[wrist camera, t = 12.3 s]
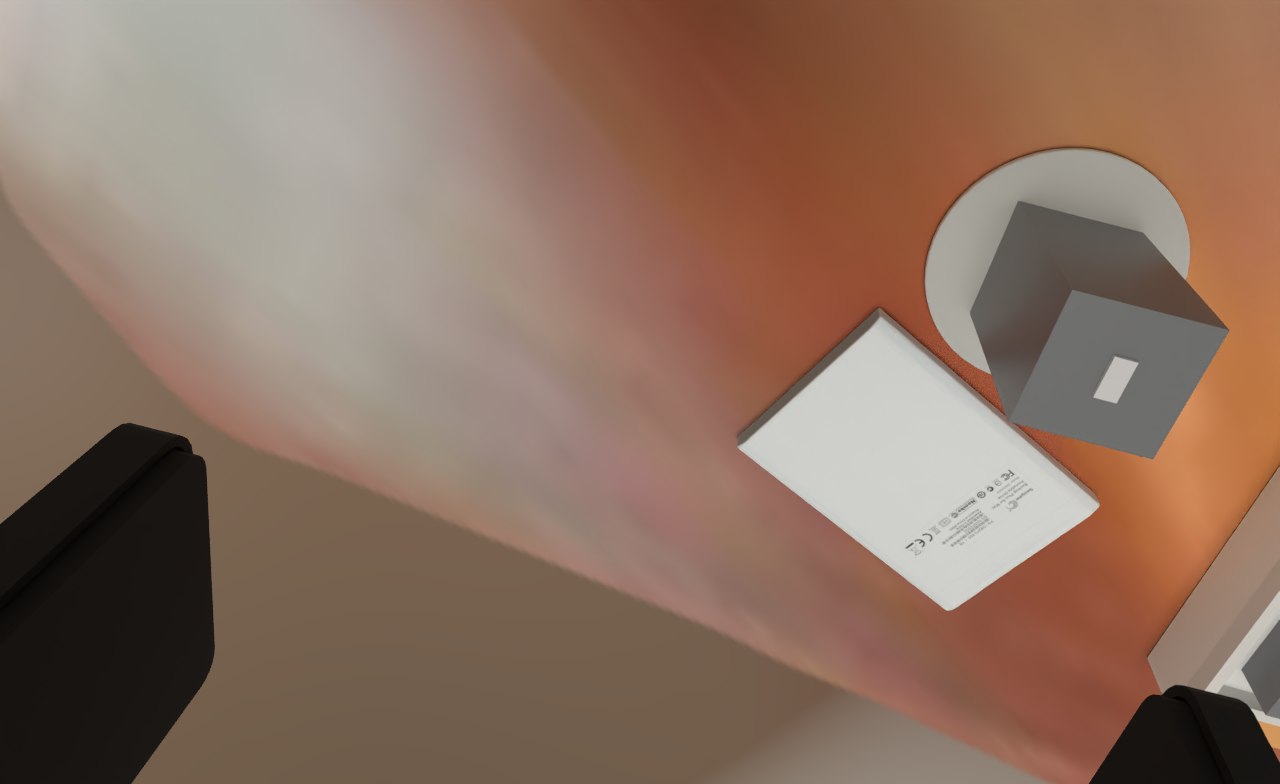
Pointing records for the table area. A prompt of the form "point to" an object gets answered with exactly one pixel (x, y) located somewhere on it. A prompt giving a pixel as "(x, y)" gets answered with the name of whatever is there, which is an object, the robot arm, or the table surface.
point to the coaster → (1052, 182)
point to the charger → (1091, 331)
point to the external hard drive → (916, 464)
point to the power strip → (1233, 620)
